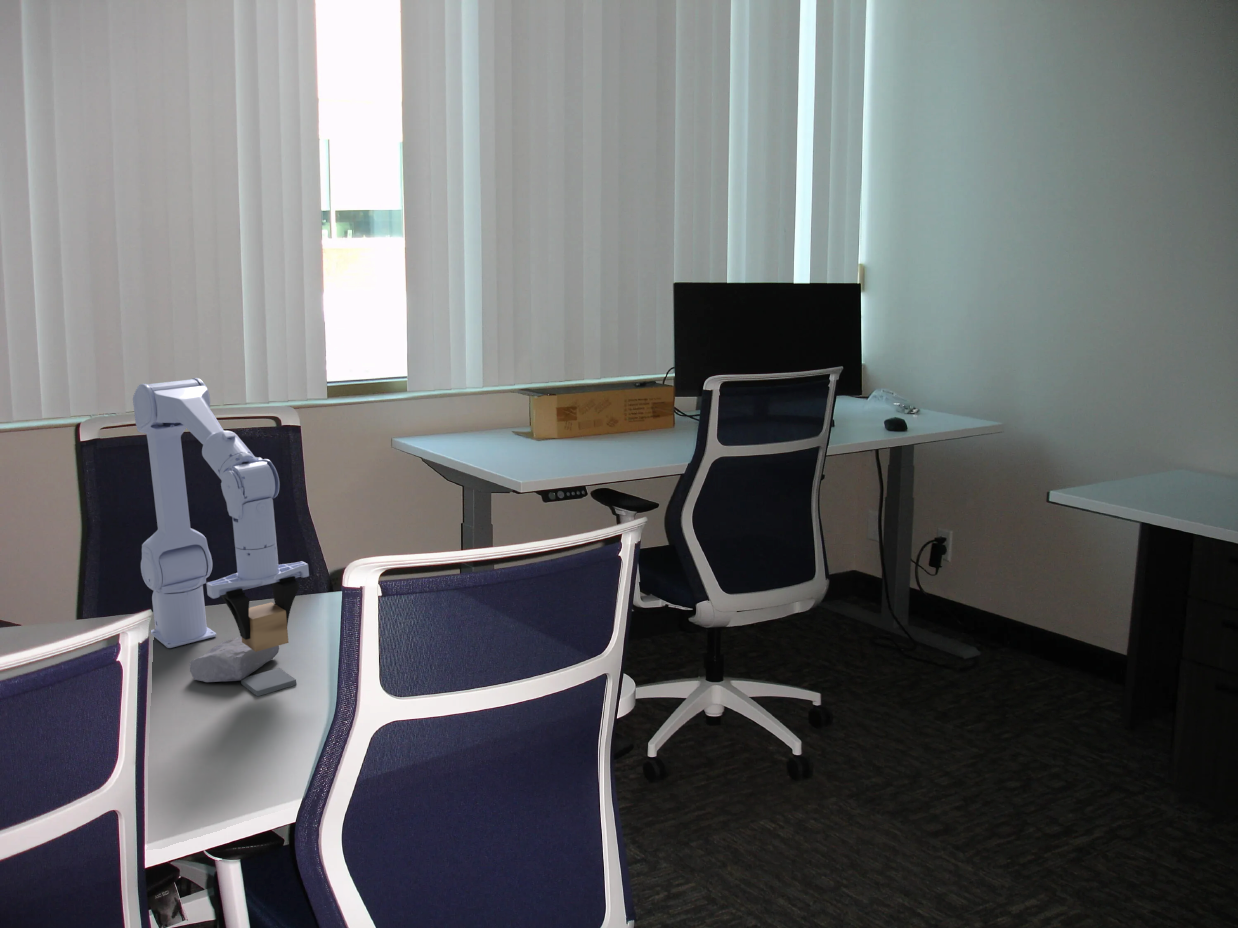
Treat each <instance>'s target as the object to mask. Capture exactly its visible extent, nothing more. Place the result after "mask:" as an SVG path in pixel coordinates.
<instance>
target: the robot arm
mask: <svg viewBox="0 0 1238 928" xmlns="http://www.w3.org/2000/svg"><path fill="white" fill-rule="evenodd" d="M132 396H133V397H132V404H133V412H134V422H135V426H136V430H137V432H139V433H142V434H146V439H147V446H148V453H149V463H150V470H151V471H150V473H151V481H152V490H153V497H154V507H155V516H156V522H157V523H156V526H157V530H156V531H155V532H153V534H152V535H151V536H150V537H148V538H147V539H146V540H145V541H144V542H143V543H141V560H140V573H141V576H142V577H141V578H142V580H143V581H144V583H145V585H146V586H147V587H148V589H150V590H152V591H153V592H152V596H151V601H152V610H153V612H152V613H153V618H154V626H155V627H154V628H155V629H151V634H150V635H151V636H153V637H154V638H155V639H156V640H157V641H159V642H160V643H161V644H162V645H164V647H166V648H167V649H172V648H175V647H180V646H183V645H186V644H187V645H188V644H190V643H195V642H200V641H203V640H207V639H211V638H214V637H216V636H217V632H215V631H214V630H212V629H211V628H209V627H208V625H207V616H206V606H205V596H204V584H206V592H207V593H206V594H207V596H208V597H210V598H211V599H217V598H220V597H221V598H222V600H223V601H224V602H225V604H226V605H227V607H228V609H229V611H230V612H231V615H232V616H233V619H234V621H235V623H236V625H237V628H238V632H239V635H240V636H239V637H242V638H244V639H245V640H247V639H250V624H249V608H250V600H251V599H250V598H249V597H247V596H246V592H244V591H245V590H248V589H249V590H250V589H254V588H257V587H261V586H266V585H270V586H271V590H272V594H273V601H274V604H275V605H277V606H279V607H280V608H282V609H284V610H285V611H286V619H287V626H288V625H289V624H288V623H289V618H290V614H291V609H292V606H293V603H294V601H295V598H296V596H297V594H298V592H299V590H300V582H299V581H297V578H300V577H301V578H307V577H310V571H309V569H310V568H309V564H308V563H306V562H305V561H303V560H301V561H297V562H291V563H282V564H281V563H280V564H279V556H278V545H277V543H278V542H277V533H276V522H275V510H274V500H273V499H275V498H276V497H278V494H279V492H280V486H281V484H280V478H279V474H278V471H277V469H276V467H275V465H274V464H273V462H272V461H271V460H270V459H268V458H264V459H263V458H262V457H260V456H259V457H257V456H255V455H254V454H253V452H252V451H251V450H250V449H249V447H248V446H247V445H246V444H245V443H244V442H243V440H242V439H241V438H240V437H239V436H238V434H236V432H233V431H231V430H224V429H223V427H222V426H221V423H220V422H219V421H218V419H217V418H216V416H215V414H214V413H213V411H212V410H211V397H210V392H209V389H208V386H207V384H206V383H205V382H203V380H202V379H201V378H199V377H194V378H191V379H183V380H174V381H165V382H157V383H156V382H155V383H140V384H138V386H137V387H136V389H135V391H134V394H133V395H132ZM186 430H188V431H189V432H190V434H191V435H193V437H195V438H196V439H197V440H198V442H200V443H201V444H202V449H201V456H202V457H203V459H204V460H205V461H206V463H207V464H208V465H209V466H210V468H211V469H212V471H214V473H215V474H216V476H217V477H218V478H219V479H220V480H221V483H220V486H221V487H220V488H221V491H222V495H223V498H224V500H225V502H226V503H225V504H226V508H227V509H226V510H227V512H228V515H229V517H231V518H232V528H233V529H232V530H233V539H234V547H235V548H234V549H235V560H236V571H237V572H236V573H232V574H230V575H227V576H224V577H221V578H219V579H216V580H212V581H207V578H209V577H210V575H211V573H212V570H213V559H212V558H213V557H212V554H211V552H210V549H209V546H208V540H207V537H205V535H204V534H203V533H201V532H199V531H198V530H196V529H194V528H191V521H190V520H191V519H190V511H189V502H188V501H189V500H188V494H187V484H186V474H185V465H184V457H183V448H182V438H181V437H182V436H183V434H184V432H185V431H186Z"/></svg>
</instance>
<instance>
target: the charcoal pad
mask: <svg viewBox="0 0 1238 928" xmlns="http://www.w3.org/2000/svg"><path fill="white" fill-rule="evenodd" d="M240 684H241V685H242V686H243V687H244V688H246V689H247V690H249V691H250V693H252V694H253V695H255V696H256V697H260V696H263V695H267V694H271V693H273V692H276V691H280V690H283V689H286V688H290V687H293V686H296V685H297V679H296V678H295V677H293V676H292V675H291V674H289V673H288V672H286V671H285V670H283V669H282V668H280V667H277V668H273V669H270V670H267V671H263V672H260V673H256V674H253V675H248V676H247V677H245V678H243V679H242V680H240Z"/></svg>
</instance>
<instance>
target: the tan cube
mask: <svg viewBox="0 0 1238 928" xmlns="http://www.w3.org/2000/svg"><path fill="white" fill-rule="evenodd" d="M249 624H250V639H247V640H245V639H244V638H242V643H244V644H245V645H247V646H248V647H250V648H251V649H252V650H254V651H255V652H257V651H260V650H264V649H268V648H271V647H275V646H279V647H280V646H281V645H285V644H289V633H288V625H287V619H286V611H285V610H284V609H282V608H280V607H279V606H277V605H275V602H274V603H273V602H272V601H270V602H268V603H264V604H259V605H254V606H249Z"/></svg>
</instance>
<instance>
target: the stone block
mask: <svg viewBox="0 0 1238 928" xmlns="http://www.w3.org/2000/svg"><path fill="white" fill-rule="evenodd" d="M279 651H280V645H279V646H275V647H271V648H268V649H264V650H260V651H257V652H255V651H254V650H252V649H251V648H250V647H248V646H247V645H245V644H244V643H242V637H241V636H238V637H234V638H232V639H227V640H225V641H222V642H220V643H219V644H218V645H216V646H214V647H212V648H210V649H209V650H208V651H207V652H206V653H205V654H203V655H202V656H199V657H196V658H194V659H193V660H191V661H189V670H190V671H189V672H190V674H191V676H192V677H193V680H195V681H199V682H200V681H201V682H204V683H215V682H237V681H241V680H242V679H243V678H245V677H249V676H250V675H251V674H252V673H254V672H256V671H257V670H258V669H259V668H261V667H263V666H264V665H265V664H266V663H268V662H270V661H272V660H273V659H274V658H276V656H277V655H278V653H279Z"/></svg>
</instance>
